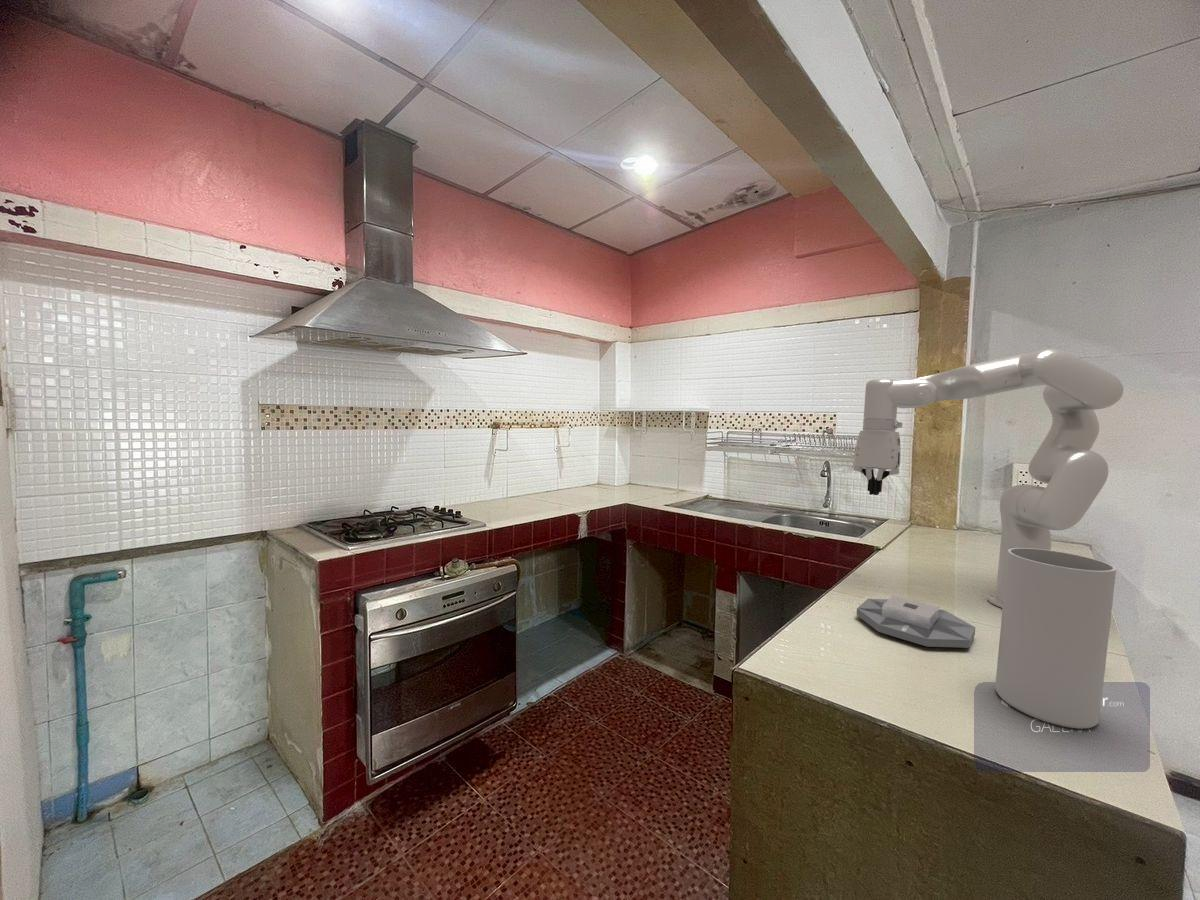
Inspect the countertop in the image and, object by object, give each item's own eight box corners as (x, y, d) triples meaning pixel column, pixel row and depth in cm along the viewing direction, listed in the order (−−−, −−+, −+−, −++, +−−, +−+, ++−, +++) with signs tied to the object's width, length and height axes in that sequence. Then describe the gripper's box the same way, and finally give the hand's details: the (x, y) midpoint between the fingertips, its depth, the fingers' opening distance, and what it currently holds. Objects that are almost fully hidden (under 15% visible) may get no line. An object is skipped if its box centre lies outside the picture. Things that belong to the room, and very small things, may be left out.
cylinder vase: (977, 681, 84) (989, 546, 83) (1052, 687, 83) (1066, 550, 81) (1033, 727, 72) (1049, 568, 70) (1123, 735, 71) (1142, 574, 69)
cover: (938, 617, 106) (939, 606, 106) (929, 629, 100) (930, 617, 99) (892, 605, 112) (893, 594, 112) (881, 615, 106) (882, 604, 106)
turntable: (978, 626, 106) (979, 619, 106) (964, 658, 91) (965, 650, 91) (874, 598, 121) (875, 592, 120) (847, 622, 106) (848, 615, 106)
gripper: (915, 427, 122) (910, 497, 123) (853, 425, 132) (848, 489, 134) (908, 427, 117) (903, 500, 118) (844, 425, 127) (839, 492, 128)
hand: (874, 494), depth 126 cm, fingers closed
